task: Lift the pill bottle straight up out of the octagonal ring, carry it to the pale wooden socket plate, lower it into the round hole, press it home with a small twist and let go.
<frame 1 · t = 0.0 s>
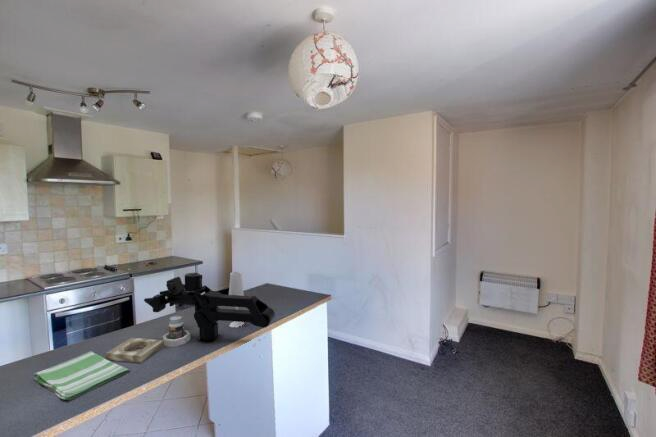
hand: (152, 296, 130), 17 cm above the counter, tool horizontal, fingers open, 9 cm apart
octagonal ring: (176, 340, 125), on the counter
socket plate: (136, 352, 116), on the counter
champagne flute: (236, 324, 142), on the counter
pill bottle: (176, 341, 125), resting in octagonal ring
dish towel: (81, 378, 101), on the counter
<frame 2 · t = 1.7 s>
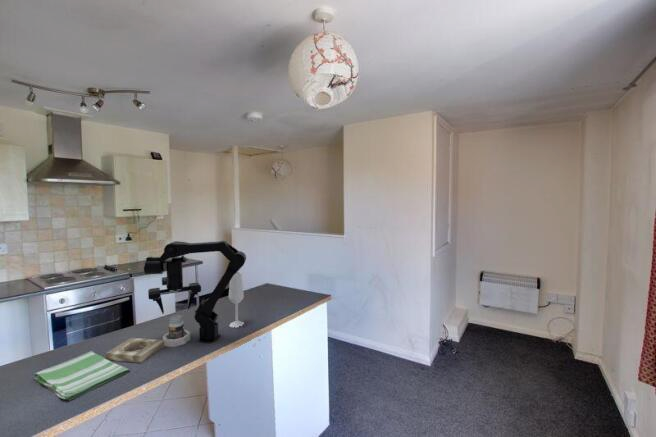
hand: (175, 311, 124), 12 cm above the counter, tool pointing down, fingers open, 9 cm apart
nothing on the counter moved.
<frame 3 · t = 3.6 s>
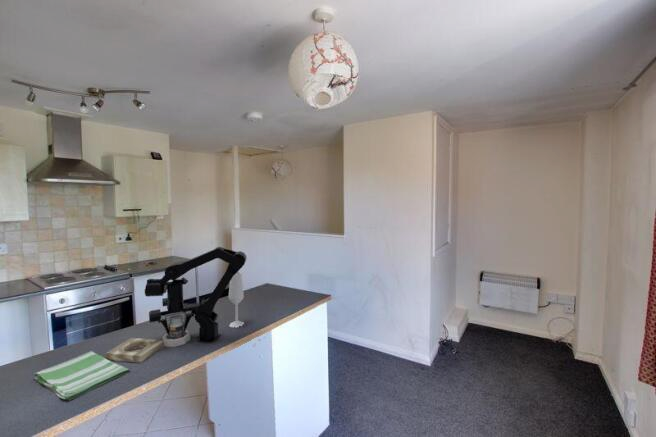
hand: (176, 332, 125), 4 cm above the counter, tool pointing down, fingers closed on pill bottle, 6 cm apart
pill bottle: (176, 341, 125), resting in octagonal ring, touching gripper
everything else where it was.
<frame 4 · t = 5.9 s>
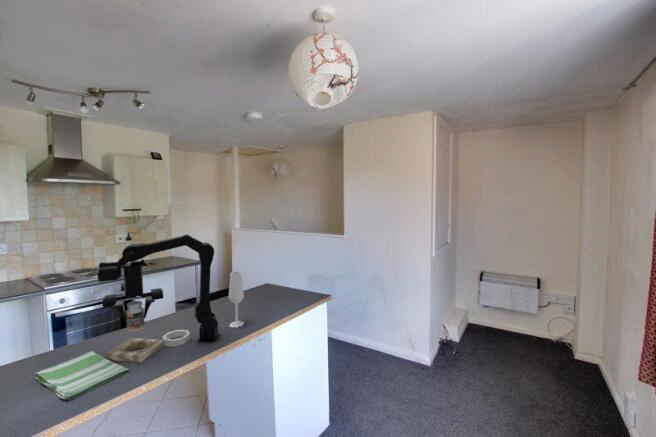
hand: (135, 319, 115), 13 cm above the counter, tool pointing down, fingers closed on pill bottle, 6 cm apart
pill bottle: (135, 329, 115), point 9 cm above the counter, touching gripper
everything else where it was.
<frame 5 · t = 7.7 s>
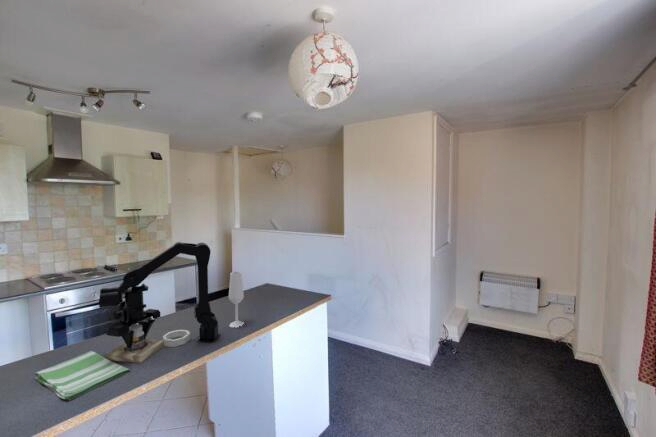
hand: (136, 343, 115), 3 cm above the counter, tool pointing down, fingers closed on pill bottle, 6 cm apart
pill bottle: (135, 353, 116), resting in socket plate, touching gripper
everything else where it was.
when the fingers open (3 cm above the counter, at t = 8.7 s): pill bottle stays where it is, resting in socket plate.
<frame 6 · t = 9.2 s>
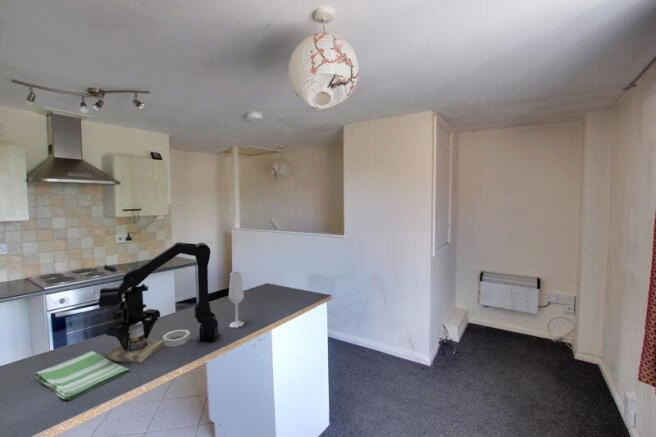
hand: (136, 344, 115), 3 cm above the counter, tool pointing down, fingers open, 9 cm apart
pill bottle: (135, 353, 116), resting in socket plate
everything else where it was.
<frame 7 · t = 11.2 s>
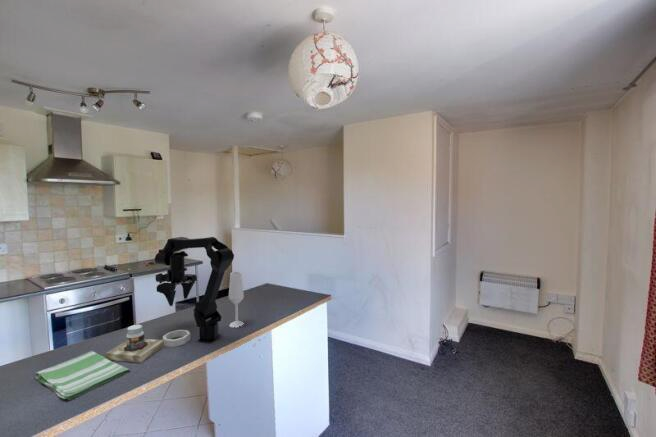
hand: (178, 302, 133), 13 cm above the counter, tool pointing down, fingers open, 9 cm apart
nothing on the counter moved.
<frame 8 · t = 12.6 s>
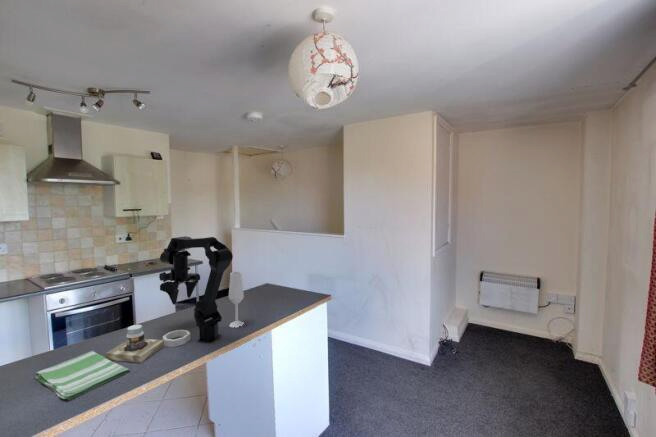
hand: (181, 300, 135), 13 cm above the counter, tool pointing down, fingers open, 9 cm apart
nothing on the counter moved.
at the end: pill bottle 0.3 cm off-centre on the socket plate, point 0.0 cm above the socket plate's base; pill bottle tilted 0°; the gripper is holding nothing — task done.
